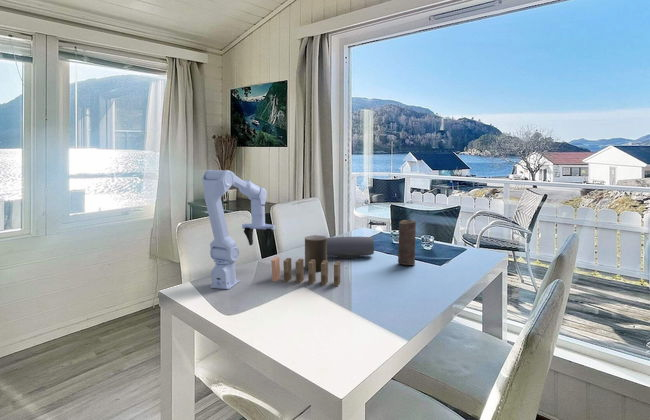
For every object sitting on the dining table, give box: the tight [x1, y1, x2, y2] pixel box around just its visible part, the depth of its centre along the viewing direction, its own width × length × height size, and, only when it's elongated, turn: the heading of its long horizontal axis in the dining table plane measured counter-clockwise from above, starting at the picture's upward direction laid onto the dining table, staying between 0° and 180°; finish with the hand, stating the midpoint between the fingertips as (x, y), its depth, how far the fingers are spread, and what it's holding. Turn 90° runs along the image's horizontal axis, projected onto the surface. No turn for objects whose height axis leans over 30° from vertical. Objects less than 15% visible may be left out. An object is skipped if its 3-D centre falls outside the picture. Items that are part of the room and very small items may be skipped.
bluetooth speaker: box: [327, 236, 375, 259], centre depth 178 cm, size 23×9×10 cm, turn 92°
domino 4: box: [307, 259, 317, 285], centre depth 146 cm, size 5×2×8 cm, turn 166°
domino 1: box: [270, 256, 281, 282], centre depth 150 cm, size 5×2×8 cm, turn 166°
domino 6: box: [333, 260, 341, 287], centre depth 144 cm, size 5×2×8 cm, turn 166°
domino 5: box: [320, 259, 329, 286], centre depth 145 cm, size 5×2×8 cm, turn 166°
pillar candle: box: [304, 234, 328, 272], centre depth 162 cm, size 10×10×15 cm
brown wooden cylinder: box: [397, 219, 417, 266], centre depth 165 cm, size 8×7×20 cm
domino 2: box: [283, 257, 293, 283], centre depth 148 cm, size 5×2×8 cm, turn 166°
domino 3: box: [295, 258, 304, 284], centre depth 147 cm, size 5×2×8 cm, turn 166°
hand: (259, 245), depth 164 cm, fingers open, 7 cm apart
